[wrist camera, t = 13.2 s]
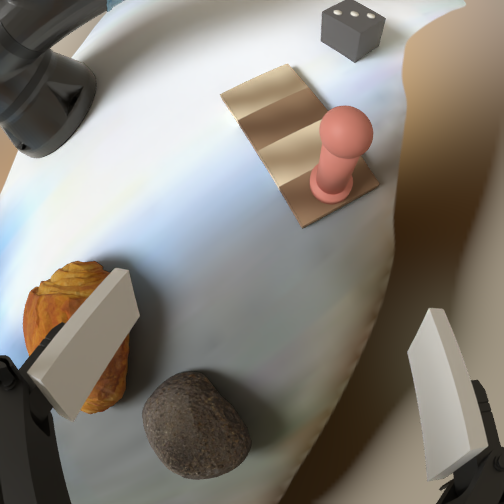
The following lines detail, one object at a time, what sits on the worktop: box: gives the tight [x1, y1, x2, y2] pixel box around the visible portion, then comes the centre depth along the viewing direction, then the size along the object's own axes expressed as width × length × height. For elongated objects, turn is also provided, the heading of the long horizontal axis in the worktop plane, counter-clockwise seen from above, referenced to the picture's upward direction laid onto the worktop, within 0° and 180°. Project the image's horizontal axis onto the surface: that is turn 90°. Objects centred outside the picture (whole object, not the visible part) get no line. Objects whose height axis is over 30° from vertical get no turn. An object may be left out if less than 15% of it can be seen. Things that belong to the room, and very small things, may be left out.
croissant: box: [23, 261, 129, 414], centre depth 25 cm, size 14×16×8 cm
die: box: [321, 0, 386, 63], centre depth 25 cm, size 5×5×5 cm
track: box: [220, 64, 379, 228], centre depth 26 cm, size 16×8×1 cm, turn 28°
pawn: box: [310, 106, 373, 205], centre depth 20 cm, size 4×4×11 cm
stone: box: [142, 371, 251, 480], centre depth 23 cm, size 10×8×10 cm
